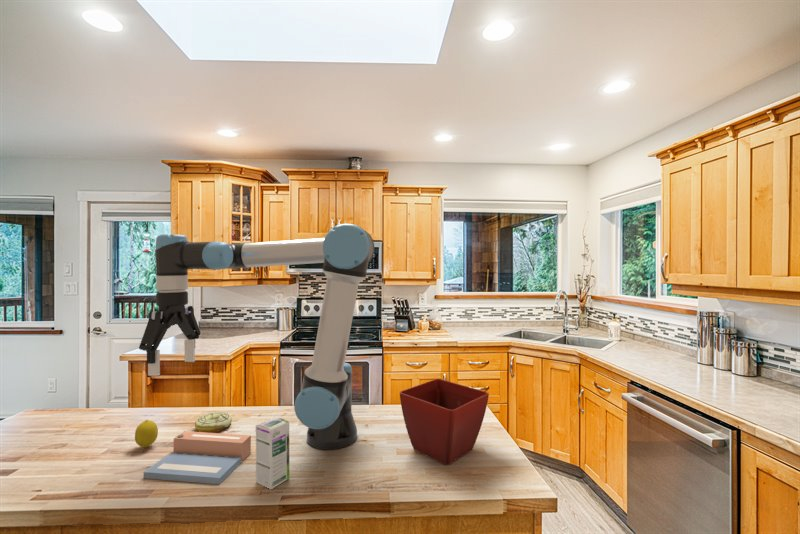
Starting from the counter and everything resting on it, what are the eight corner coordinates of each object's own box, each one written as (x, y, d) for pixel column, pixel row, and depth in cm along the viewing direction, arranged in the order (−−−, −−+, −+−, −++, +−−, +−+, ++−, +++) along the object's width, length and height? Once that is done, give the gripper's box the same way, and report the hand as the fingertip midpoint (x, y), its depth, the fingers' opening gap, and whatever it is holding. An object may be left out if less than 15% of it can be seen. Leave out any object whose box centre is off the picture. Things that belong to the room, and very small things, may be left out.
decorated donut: (234, 430, 121) (234, 418, 121) (196, 438, 115) (196, 426, 115) (228, 418, 130) (228, 407, 129) (193, 425, 124) (193, 414, 123)
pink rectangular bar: (250, 453, 106) (250, 434, 106) (242, 461, 102) (242, 441, 102) (184, 448, 108) (184, 430, 108) (173, 456, 104) (173, 437, 104)
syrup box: (271, 490, 89) (271, 429, 89) (254, 482, 92) (255, 423, 92) (289, 478, 94) (290, 420, 94) (274, 471, 97) (274, 415, 97)
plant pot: (489, 449, 110) (490, 392, 110) (451, 476, 96) (452, 410, 96) (437, 429, 123) (437, 377, 123) (396, 450, 109) (397, 392, 109)
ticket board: (241, 462, 101) (241, 456, 101) (219, 484, 91) (219, 477, 91) (172, 457, 103) (172, 451, 103) (143, 478, 93) (143, 471, 93)
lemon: (146, 453, 105) (146, 425, 105) (129, 451, 106) (129, 423, 106) (162, 444, 111) (162, 417, 111) (146, 442, 112) (146, 415, 112)
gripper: (190, 287, 117) (191, 356, 117) (121, 294, 92) (122, 381, 92) (212, 288, 116) (213, 357, 116) (149, 295, 91) (150, 382, 91)
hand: (173, 368), depth 104 cm, fingers open, 13 cm apart
